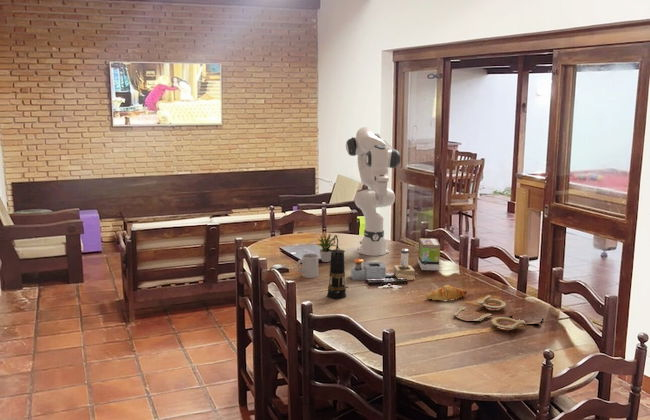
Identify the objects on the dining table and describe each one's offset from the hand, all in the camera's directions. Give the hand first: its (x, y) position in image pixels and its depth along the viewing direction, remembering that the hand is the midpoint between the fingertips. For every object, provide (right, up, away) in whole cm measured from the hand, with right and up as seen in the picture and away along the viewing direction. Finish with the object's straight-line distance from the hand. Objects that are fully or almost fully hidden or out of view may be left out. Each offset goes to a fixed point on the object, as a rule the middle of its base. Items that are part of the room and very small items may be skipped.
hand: (379, 202), depth 323 cm
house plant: (-27, -34, +29) cm, 52 cm away
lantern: (-23, -46, -29) cm, 59 cm away
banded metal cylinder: (+13, -39, +1) cm, 41 cm away
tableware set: (+48, -52, -55) cm, 89 cm away
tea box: (+30, -36, +21) cm, 51 cm away
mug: (-38, -40, +1) cm, 55 cm away
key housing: (-11, -40, -1) cm, 42 cm away
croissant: (+29, -47, -30) cm, 63 cm away
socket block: (-3, -40, 0) cm, 40 cm away
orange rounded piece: (-11, -39, -1) cm, 41 cm away
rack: (+13, -40, +1) cm, 42 cm away
